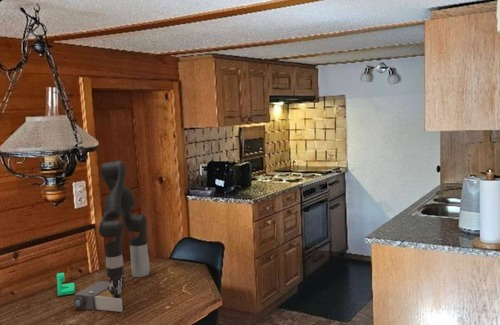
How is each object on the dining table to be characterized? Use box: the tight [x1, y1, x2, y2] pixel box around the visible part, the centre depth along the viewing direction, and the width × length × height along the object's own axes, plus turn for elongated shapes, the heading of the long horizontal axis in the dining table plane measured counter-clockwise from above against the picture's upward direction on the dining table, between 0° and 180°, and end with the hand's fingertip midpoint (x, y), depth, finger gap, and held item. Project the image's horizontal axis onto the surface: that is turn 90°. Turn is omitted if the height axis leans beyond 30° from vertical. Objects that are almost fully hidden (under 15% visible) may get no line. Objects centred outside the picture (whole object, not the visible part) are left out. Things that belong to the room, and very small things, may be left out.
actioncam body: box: [73, 280, 115, 311], centre depth 233 cm, size 21×10×7 cm, turn 159°
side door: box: [94, 296, 124, 313], centre depth 222 cm, size 14×2×6 cm, turn 73°
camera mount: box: [56, 272, 76, 297], centre depth 248 cm, size 12×8×10 cm, turn 19°
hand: (118, 301), depth 224 cm, fingers closed
